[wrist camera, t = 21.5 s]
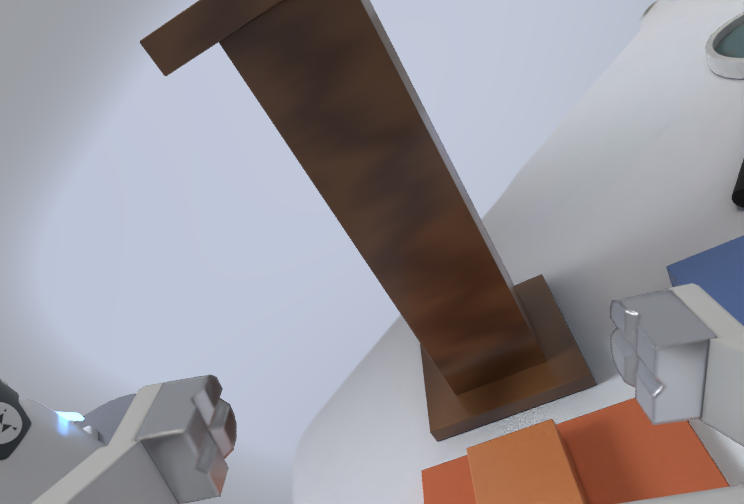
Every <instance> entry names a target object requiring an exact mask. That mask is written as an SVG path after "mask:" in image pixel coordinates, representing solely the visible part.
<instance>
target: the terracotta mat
mask: <svg viewBox="0 0 744 504" xmlns="http://www.w3.org/2000/svg"><path fill="white" fill-rule="evenodd" d="M556 426H557V428H558V429H559V431H560V433H561V435H562V437H563V439H564V441H565V444H566V446H567V449H568V452H569V454H570V457H571V459H572V462H573V465H574V467H575V470H576V473H577V475H578V478H579V481H580V483H581V486H582V488H583V491H584V494H585V496H586V499H587V502H588V504H618V503H625V502H632V501H638V500H645V499H651V498H658V497H664V496H671V495H677V494H684V493H690V492H697V491H703V490H710V489H716V488H723V487H729V486H730V485H729V484H728V482H727V481H726V479H725V478H724V476H723V475H722V473H721V471H720V470H719V468H718V467H717V465H716V464H715V462H714V461H713V459H712V458H711V456H710V454H709V453H708V451H707V450H706V448H705V447H704V445H703V444H702V442H701V441H700V439H699V438H698V436H697V434H696V433H695V431H694V430H693V428H692V427H691V425H690V424H689V422H688V421H680V422H673V423H666V424H659V425H652V423H651V422H650V420H649V419H648V417H647V416H646V414H645V413H644V411H643V410H642V408H641V407H640V405H639V404H638V402H637V401H636V399H635V398H633V399H630V400H627V401H624V402H621V403H618V404H615V405H612V406H609V407H606V408H603V409H601V410H598V411H595V412H592V413H589V414H586V415H583V416H580V417H577V418H574V419H571V420H568V421H565V422H562V423H560V424H557V425H556ZM421 472H422V483H423V494H424V504H476V498H475V493H474V488H473V482H472V477H471V471H470V466H469V460H468V455H466V456H463V457H460V458H457V459H454V460H451V461H448V462H445V463H443V464H440V465H437V466H434V467H431V468H428V469H425V470H422V471H421Z"/></svg>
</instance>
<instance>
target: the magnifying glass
mask: <svg viewBox="0 0 744 504" xmlns="http://www.w3.org/2000/svg"><path fill="white" fill-rule="evenodd" d="M705 49H706V54H707V59H708V64H709V67H710V69H711V70H712V71H713V72H714V73H716V74H718V75H721V76H723V77H729V78H736V79H744V12H743V13H741V14H739V15H738V16H736V17H734V18H733V19H731V20H729V21H728V22H727V23H725V24H724V25H722V26H721V27H720V28H718V29H717V30H716V31H715V32H714V33H713V34H712V35H711V36H710V38H709V39H708V41H707V43H706V47H705ZM732 200H733V202H734V203H735V204H736V205H737V206H740V207H743V208H744V160H743V163H742V166H741V169H740V172H739V175H738V178H737V182H736V185H735V188H734V191H733V194H732Z"/></svg>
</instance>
